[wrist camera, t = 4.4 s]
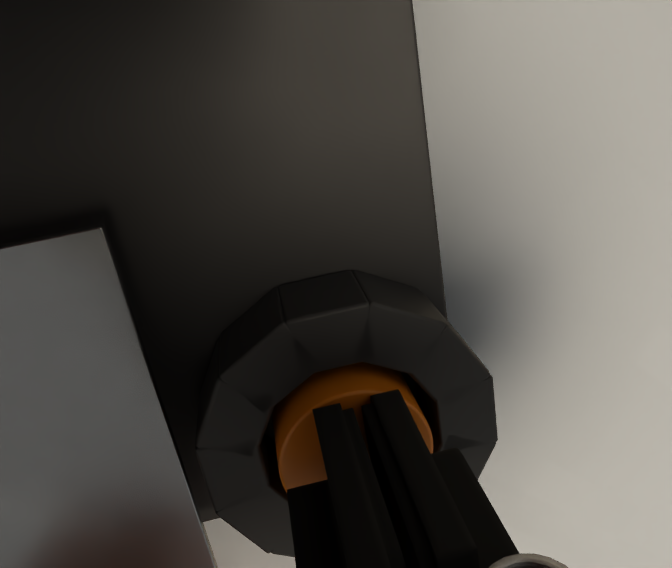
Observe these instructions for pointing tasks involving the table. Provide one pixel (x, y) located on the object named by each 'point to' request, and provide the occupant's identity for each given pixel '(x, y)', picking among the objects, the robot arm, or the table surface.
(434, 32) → the table surface
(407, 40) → the base
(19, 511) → the coffee maker
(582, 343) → the table surface
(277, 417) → the power button
